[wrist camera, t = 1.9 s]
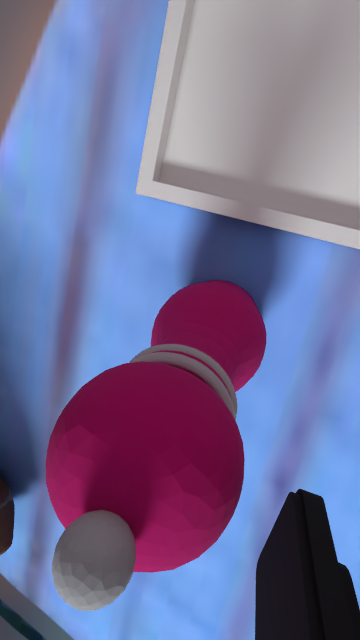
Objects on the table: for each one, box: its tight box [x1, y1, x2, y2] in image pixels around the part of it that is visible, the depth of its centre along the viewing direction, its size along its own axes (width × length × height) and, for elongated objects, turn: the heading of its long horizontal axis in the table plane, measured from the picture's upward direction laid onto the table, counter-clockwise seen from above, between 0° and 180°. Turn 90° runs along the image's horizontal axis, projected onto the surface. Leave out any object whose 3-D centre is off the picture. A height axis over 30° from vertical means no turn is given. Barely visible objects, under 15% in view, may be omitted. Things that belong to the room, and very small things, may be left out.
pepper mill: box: [46, 280, 266, 611], centre depth 16 cm, size 7×7×20 cm
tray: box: [136, 0, 360, 249], centre depth 18 cm, size 17×17×2 cm
